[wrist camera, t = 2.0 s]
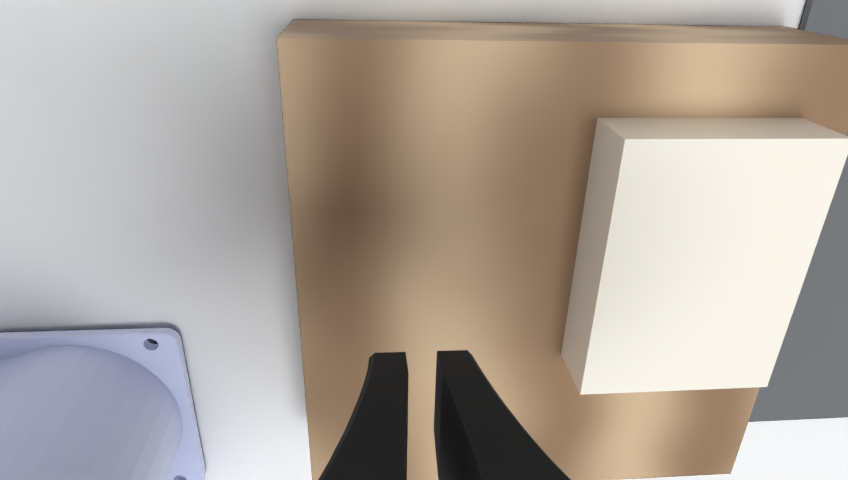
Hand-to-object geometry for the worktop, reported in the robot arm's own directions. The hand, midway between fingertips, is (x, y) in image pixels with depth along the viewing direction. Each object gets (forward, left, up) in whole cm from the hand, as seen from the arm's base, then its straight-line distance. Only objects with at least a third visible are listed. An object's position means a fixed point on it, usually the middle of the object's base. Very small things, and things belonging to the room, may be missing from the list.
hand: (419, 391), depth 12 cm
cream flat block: (+8, 0, -6) cm, 11 cm away
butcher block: (+5, -2, -10) cm, 12 cm away
